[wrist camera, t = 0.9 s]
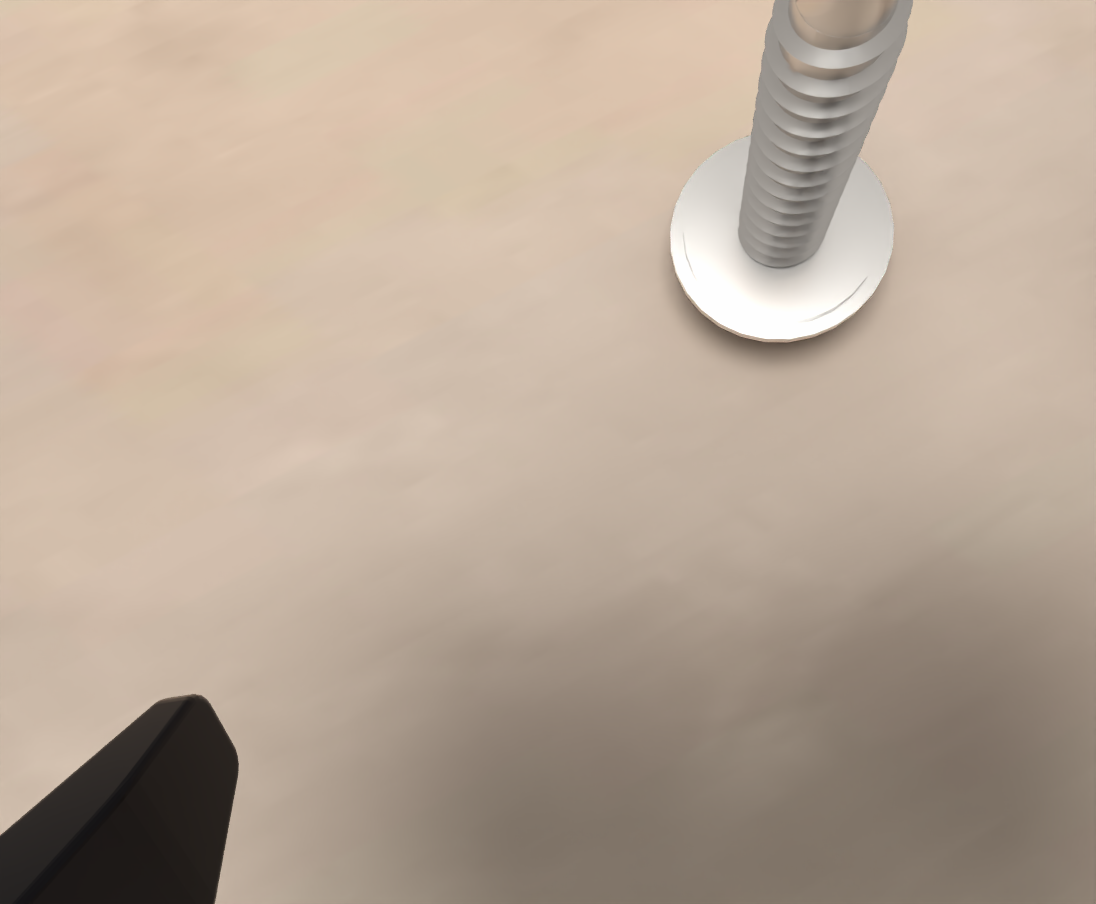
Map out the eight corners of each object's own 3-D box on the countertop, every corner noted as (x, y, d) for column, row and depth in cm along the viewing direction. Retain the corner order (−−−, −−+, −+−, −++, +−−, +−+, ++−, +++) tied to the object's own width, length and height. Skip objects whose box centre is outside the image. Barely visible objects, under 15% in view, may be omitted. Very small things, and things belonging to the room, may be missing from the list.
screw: (893, 338, 21) (691, 377, 22) (850, 150, 22) (656, 194, 22) (1210, -9, 8) (694, 113, 9) (1079, -435, 9) (612, -295, 10)
